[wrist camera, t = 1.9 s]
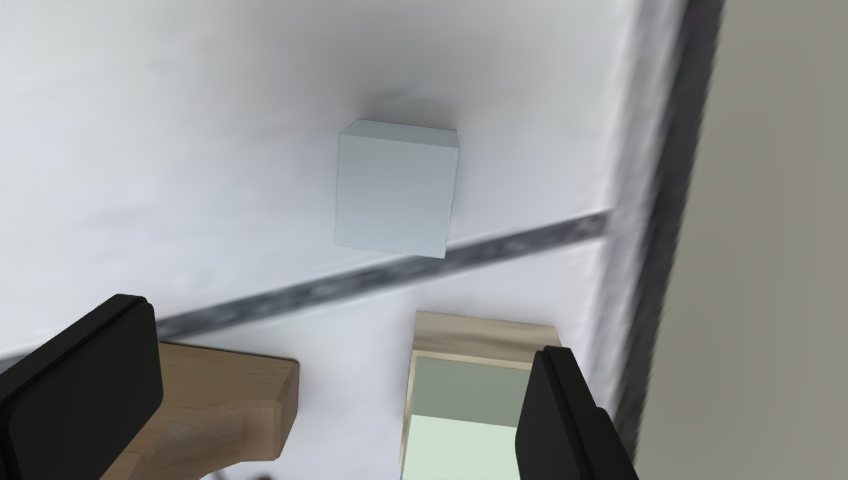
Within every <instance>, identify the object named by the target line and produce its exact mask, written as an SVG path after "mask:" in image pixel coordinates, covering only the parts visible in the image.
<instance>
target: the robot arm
mask: <svg viewBox="0 0 848 480" xmlns="http://www.w3.org/2000/svg"><path fill="white" fill-rule="evenodd" d="M163 395H164V391H163V382H162V374H161V365H160V357H159V348H158V340H157V332H156V323H155V315H154V308H153V306H152V304H150V303H148V301H147V300H146V298H144V297H143V296H135V295H126V294H116V295H114V296H112V297H111V298H109V299H108V300H107V301H105V302H104V303H102V304H101V305H99V306H98V307H97V308H95V309H94V310H92V311H91V312H89V313H88V314H86V315H85V316H84V317H82V318H81V319H79V320H78V321H76V322H75V323H74V324H72V325H71V326H69V327H68V328H66V329H65V330H64V331H62V332H61V333H59V334H58V335H56V336H55V337H53V338H52V339H51V340H49V341H48V342H46V343H45V344H43V345H42V346H41V347H39V348H38V349H36V350H35V351H33V352H32V353H30V354H29V355H28V356H26V357H25V358H23V359H22V360H20V361H19V362H18V363H16V364H15V365H13V366H12V367H10V368H9V369H7V370H6V371H5V372H3V373H2V374H0V480H99V479H100V478H101V477H102V476H103V475H104V473H105V472H106V471H107V470H108V469H109V467H110V466H111V465H112V464H113V463H114V461H115V460H116V459H117V458H118V457H119V455H120V454H121V453H122V452H123V451H124V449H125V448H126V447H127V446H128V445H129V443H130V442H131V441H132V440H133V439H134V437H135V436H136V435H137V434H138V433H139V431H140V430H141V429H142V428H143V427H144V425H145V424H146V423H147V422H148V421H149V419H150V418H151V417H152V416H153V415H154V413H155V412H156V411H157V410H158V408H159V407H160V405H161V403H162V400H163ZM515 453H516V459H517V464H518V470H519V475H520V480H639V478H638V476H637V474H636V472H635V470H634V468H633V466H632V464H631V461H630V459H629V457H628V455H627V453H626V451H625V449H624V447H623V444H622V442H621V440H620V438H619V436H618V434H617V432H616V430H615V427H614V425H613V423H612V421H611V419H610V417H609V415H608V413H607V412H606V410H605V409H603V408H601V407H597V406H596V404H595V402H594V400H593V397H592V395H591V393H590V391H589V388H588V386H587V384H586V382H585V380H584V377H583V375H582V373H581V371H580V368H579V366H578V364H577V362H576V359H575V357H574V355H573V353H572V351H571V349H570V348H566V347H558V346H550V345H546V346H545V347H544V349H543V351H541V350H537V351H536V353H535V356H534V360H533V364H532V368H531V373H530V377H529V381H528V385H527V389H526V393H525V398H524V402H523V406H522V410H521V414H520V418H519V422H518V427H517V431H516V435H515Z"/></svg>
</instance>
